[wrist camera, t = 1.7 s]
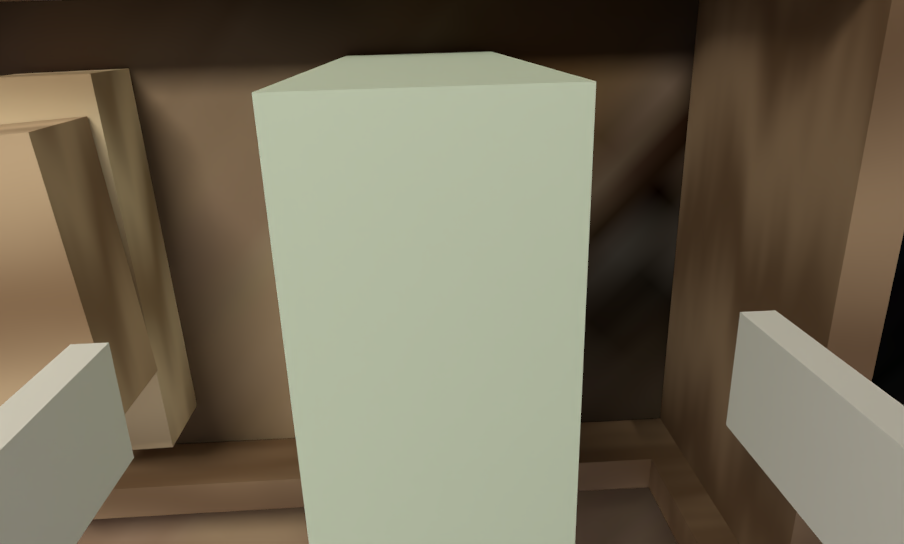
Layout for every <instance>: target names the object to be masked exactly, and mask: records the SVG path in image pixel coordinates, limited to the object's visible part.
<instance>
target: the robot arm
mask: <svg viewBox="0 0 904 544" xmlns="http://www.w3.org/2000/svg"><path fill="white" fill-rule="evenodd" d="M726 425H727V427H728V428H729V429H730V430H731V432H732V433H733V434H734V435H735V436H736V438H737V439H738V440H739V441H740V443H741V444H742V445H743V446H744V448H745V449H746V450H747V451H748V452H749V454H750V455H751V456H752V457H753V459H754V460H755V461H756V462H757V463H758V465H759V466H760V467H761V468H762V470H763V471H764V472H765V473H766V475H767V476H768V477H769V478H770V479H771V481H772V482H773V483H774V484H775V486H776V487H777V488H778V489H779V490H780V492H781V493H782V494H783V495H784V497H785V498H786V499H787V500H788V502H789V503H790V504H791V505H792V506H793V508H794V509H795V510H796V511H797V513H798V514H799V515H800V516H801V518H802V519H803V520H804V521H805V522H806V524H807V525H808V526H809V527H810V529H811V530H812V531H813V532H814V533H815V535H816V536H817V537H818V538H819V540H820V541H821V542H822V543H823V544H904V406H903V405H902V404H900V403H899V402H898V401H896V400H895V399H894V398H892V397H891V396H890V395H888V394H887V393H886V392H884V391H883V390H882V389H880V388H879V387H878V386H876V385H875V384H874V383H872V382H871V381H870V380H868V379H867V378H866V377H864V376H863V375H862V374H860V373H859V372H857V371H856V370H855V369H853V368H852V367H851V366H849V365H848V364H847V363H845V362H844V361H843V360H841V359H840V358H839V357H837V356H836V355H835V354H833V353H832V352H831V351H829V350H828V349H827V348H825V347H824V346H823V345H821V344H820V343H819V342H817V341H816V340H815V339H813V338H812V337H810V336H809V335H808V334H806V333H805V332H804V331H802V330H801V329H800V328H798V327H797V326H796V325H794V324H793V323H792V322H790V321H789V320H788V319H786V318H785V317H784V316H782V315H781V314H780V313H778V312H777V311H776V310H772V311H751V312H740V317H739V325H738V333H737V341H736V349H735V357H734V365H733V373H732V381H731V389H730V397H729V405H728V413H727V421H726ZM133 458H134V455H133V451H132V446H131V442H130V437H129V433H128V428H127V423H126V419H125V414H124V410H123V405H122V401H121V396H120V391H119V387H118V382H117V378H116V373H115V369H114V364H113V359H112V355H111V350H110V346H109V342H108V343H87V344H70V345H69V346H68V347H67V348H66V349H64V350H63V351H62V352H61V353H60V354H59V355H58V356H57V357H55V358H54V359H53V360H52V361H51V362H50V363H49V364H48V365H46V366H45V367H44V368H43V369H42V370H41V371H40V372H39V373H37V374H36V375H35V376H34V377H33V378H32V379H31V380H29V381H28V382H27V383H26V384H25V385H24V386H23V387H22V388H20V389H19V390H18V391H17V392H16V393H15V394H14V395H13V396H11V397H10V398H9V399H8V400H7V401H6V402H5V403H4V404H2V405H1V406H0V544H77V542H78V541H79V539H80V538H81V536H82V535H83V533H84V532H85V530H86V529H87V527H88V526H89V524H90V523H91V521H92V520H93V518H94V517H95V515H96V514H97V512H98V511H99V509H100V508H101V506H102V505H103V503H104V502H105V500H106V499H107V497H108V496H109V494H110V493H111V491H112V490H113V488H114V487H115V485H116V484H117V482H118V481H119V479H120V478H121V476H122V475H123V473H124V472H125V470H126V469H127V467H128V466H129V464H130V463H131V461H132V460H133Z"/></svg>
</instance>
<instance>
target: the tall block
mask: <svg viewBox="0 0 904 544" xmlns="http://www.w3.org/2000/svg"><path fill="white" fill-rule="evenodd" d="M595 97H596V81H593V80H589V79H586V78H583V77H579V76H576V75H572V74H569V73H565V72H562V71H558V70H555V69H551V68H548V67H544V66H541V65H537V64H534V63H530V62H527V61H523V60H520V59H516V58H513V57H509V56H506V55H502V54H499V53H495V52H492V51H477V52H444V53H412V54H379V55H347V56H344V57H342V58H339V59H337V60H334V61H331V62H329V63H326V64H324V65H321V66H319V67H316V68H313V69H311V70H308V71H306V72H303V73H301V74H298V75H296V76H293V77H290V78H288V79H285V80H283V81H280V82H278V83H275V84H273V85H270V86H267V87H265V88H262V89H260V90H257V91H255V92H252V99H253V107H254V115H255V123H256V130H257V138H258V146H259V154H260V162H261V170H262V178H263V186H264V193H265V201H266V209H267V217H268V225H269V233H270V241H271V248H272V256H273V264H274V272H275V280H276V288H277V296H278V304H279V311H280V319H281V327H282V335H283V343H284V351H285V359H286V367H287V374H288V382H289V390H290V398H291V406H292V414H293V422H294V430H295V437H296V445H297V453H298V461H299V469H300V477H301V485H302V492H303V500H304V508H305V516H306V524H307V532H308V540H309V544H575V533H576V511H577V489H578V467H579V445H580V424H581V402H582V380H583V358H584V336H585V315H586V293H587V271H588V249H589V228H590V206H591V184H592V162H593V140H594V119H595Z"/></svg>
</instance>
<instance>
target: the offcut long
mask: <svg viewBox="0 0 904 544" xmlns="http://www.w3.org/2000/svg"><path fill="white" fill-rule="evenodd" d="M83 116H87V118H88V121H89V125H90V128H91V132H92V136H93V139H94V143H95V146H96V150H97V154H98V157H99V161H100V164H101V168H102V172H103V175H104V179H105V182H106V186H107V190H108V193H109V197H110V200H111V204H112V208H113V211H114V215H115V218H116V222H117V226H118V229H119V233H120V236H121V240H122V243H123V247H124V251H125V254H126V258H127V261H128V265H129V269H130V272H131V276H132V279H133V283H134V287H135V290H136V294H137V297H138V301H139V305H140V308H141V312H142V315H143V319H144V323H145V326H146V330H147V333H148V337H149V341H150V344H151V348H152V351H153V355H154V359H155V362H156V366H157V369H158V371H157V372H156V373H155V375H154V376H153V377H152V379H151V380H150V381H149V383H148V384H147V386H146V387H145V388H144V390H143V391H142V392H141V394H140V395H139V396H138V398H137V399H136V400H135V402H134V403H133V404H132V406H131V407H130V408H129V410H128V411H127V412H126V414H125V419H126V423H127V428H128V433H129V437H130V442H131V446H132V450H138V449H152V448H167V447H173V446H174V444H175V443H176V441H177V439H178V437H179V436H180V434H181V432H182V431H183V429H184V427H185V425H186V424H187V422H188V420H189V418H190V417H191V415H192V413H193V411H194V410H195V408H196V406H197V403H196V398H195V393H194V388H193V383H192V378H191V373H190V368H189V363H188V358H187V353H186V348H185V343H184V338H183V333H182V329H181V324H180V319H179V314H178V309H177V304H176V299H175V294H174V289H173V284H172V279H171V274H170V269H169V264H168V259H167V255H166V250H165V245H164V240H163V235H162V230H161V225H160V220H159V215H158V210H157V205H156V200H155V195H154V190H153V185H152V181H151V176H150V171H149V166H148V161H147V156H146V151H145V146H144V141H143V136H142V131H141V126H140V121H139V116H138V111H137V107H136V102H135V97H134V92H133V87H132V82H131V77H130V72H129V68H125V69H104V70H83V71H62V72H41V73H22V74H13V75H4V76H0V125H1V124H12V123H22V122H32V121H42V120H52V119H63V118H73V117H83Z"/></svg>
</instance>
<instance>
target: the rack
mask: <svg viewBox="0 0 904 544" xmlns="http://www.w3.org/2000/svg"><path fill="white" fill-rule="evenodd" d="M22 1H60V0H0V2H22ZM903 233H904V0H699V9H698V20H697V30H696V41H695V52H694V62H693V73H692V84H691V94H690V105H689V116H688V126H687V137H686V148H685V158H684V169H683V180H682V190H681V201H680V212H679V223H678V233H677V244H676V255H675V265H674V276H673V287H672V297H671V308H670V319H669V329H668V340H667V351H666V361H665V372H664V383H663V393H662V404H661V415H660V418H659V419H640V420H622V421H603V422H585V423H581V424H580V445H579V467H578V489H577V491H589V490H606V489H624V488H641V487H649V489H650V490H651V492H652V494H653V496H654V498H655V500H656V502H657V504H658V506H659V508H660V510H661V512H662V514H663V516H664V518H665V520H666V522H667V524H668V526H669V528H670V529H671V531H672V533H673V535H674V537H675V539H676V541H677V543H678V544H823V543H822V542H821V541H820V540H819V538H818V537H817V536H816V535H815V533H814V532H813V531H812V530H811V529H810V527H809V526H808V525H807V524H806V522H805V521H804V520H803V519H802V518H801V516H800V515H799V514H798V513H797V511H796V510H795V509H794V508H793V506H792V505H791V504H790V503H789V502H788V500H787V499H786V498H785V497H784V495H783V494H782V493H781V492H780V490H779V489H778V488H777V487H776V486H775V484H774V483H773V482H772V481H771V479H770V478H769V477H768V476H767V475H766V473H765V472H764V471H763V470H762V468H761V467H760V466H759V465H758V463H757V462H756V461H755V460H754V459H753V457H752V456H751V455H750V454H749V452H748V451H747V450H746V449H745V448H744V446H743V445H742V444H741V443H740V441H739V440H738V439H737V438H736V436H735V435H734V434H733V433H732V432H731V430H730V429H729V428H728V427H727V425H726V421H727V413H728V405H729V397H730V389H731V381H732V373H733V365H734V357H735V349H736V341H737V333H738V325H739V317H740V312H751V311H772V310H776V311H777V312H778V313H780V314H781V315H782V316H784V317H785V318H786V319H788V320H789V321H790V322H792V323H793V324H794V325H796V326H797V327H798V328H800V329H801V330H802V331H804V332H805V333H806V334H808V335H809V336H810V337H812V338H813V339H815V340H816V341H817V342H819V343H820V344H821V345H823V346H824V347H825V348H827V349H828V350H829V351H831V352H832V353H833V354H835V355H836V356H837V357H839V358H840V359H841V360H843V361H844V362H845V363H847V364H848V365H849V366H851V367H852V368H853V369H855V370H856V371H857V372H859V373H860V374H862V375H863V376H864V377H866V378H867V379H868V380H870V381H872V377H873V372H874V367H875V363H876V358H877V353H878V349H879V344H880V339H881V335H882V330H883V326H884V321H885V316H886V312H887V307H888V302H889V298H890V293H891V289H892V284H893V279H894V275H895V270H896V265H897V261H898V256H899V252H900V247H901V242H902V238H903ZM132 451H133V455H134V458H133V460H132V461H131V463H130V464H129V466H128V467H127V469H126V470H125V472H124V473H123V475H122V476H121V478H120V479H119V481H118V482H117V484H116V485H115V487H114V488H113V490H112V491H111V493H110V494H109V496H108V497H107V499H106V500H105V502H104V503H103V505H102V506H101V508H100V509H99V511H98V512H97V514H96V515H95V517H94V518H93V519H107V518H124V517H141V516H158V515H176V514H193V513H210V512H227V511H245V510H262V509H279V508H296V507H304V500H303V492H302V485H301V477H300V469H299V461H298V453H297V445H296V438H287V439H269V440H250V441H231V442H213V443H194V444H176V445H174V446H173V447H167V448H152V449H138V450H132Z"/></svg>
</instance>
